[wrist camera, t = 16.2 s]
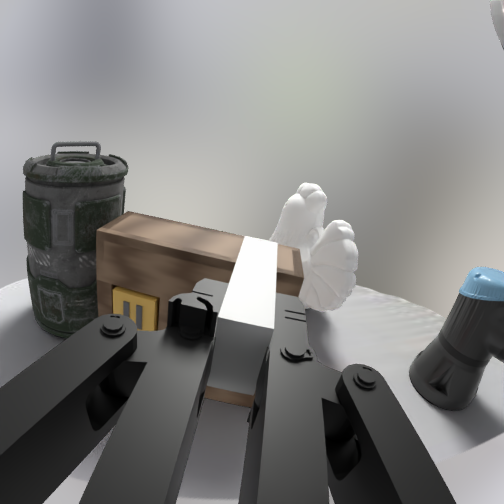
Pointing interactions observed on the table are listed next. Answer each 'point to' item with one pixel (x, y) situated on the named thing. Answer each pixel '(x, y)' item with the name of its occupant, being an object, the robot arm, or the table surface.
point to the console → (176, 267)
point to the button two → (137, 307)
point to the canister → (68, 231)
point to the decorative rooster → (318, 249)
